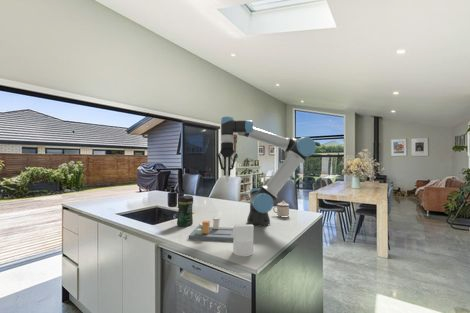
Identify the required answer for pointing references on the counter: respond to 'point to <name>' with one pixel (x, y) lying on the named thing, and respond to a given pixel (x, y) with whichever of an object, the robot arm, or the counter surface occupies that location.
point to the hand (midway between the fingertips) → (227, 181)
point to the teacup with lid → (282, 209)
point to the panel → (213, 234)
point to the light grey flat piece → (202, 224)
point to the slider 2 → (216, 223)
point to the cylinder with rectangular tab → (243, 240)
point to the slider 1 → (205, 227)
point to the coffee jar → (185, 211)
